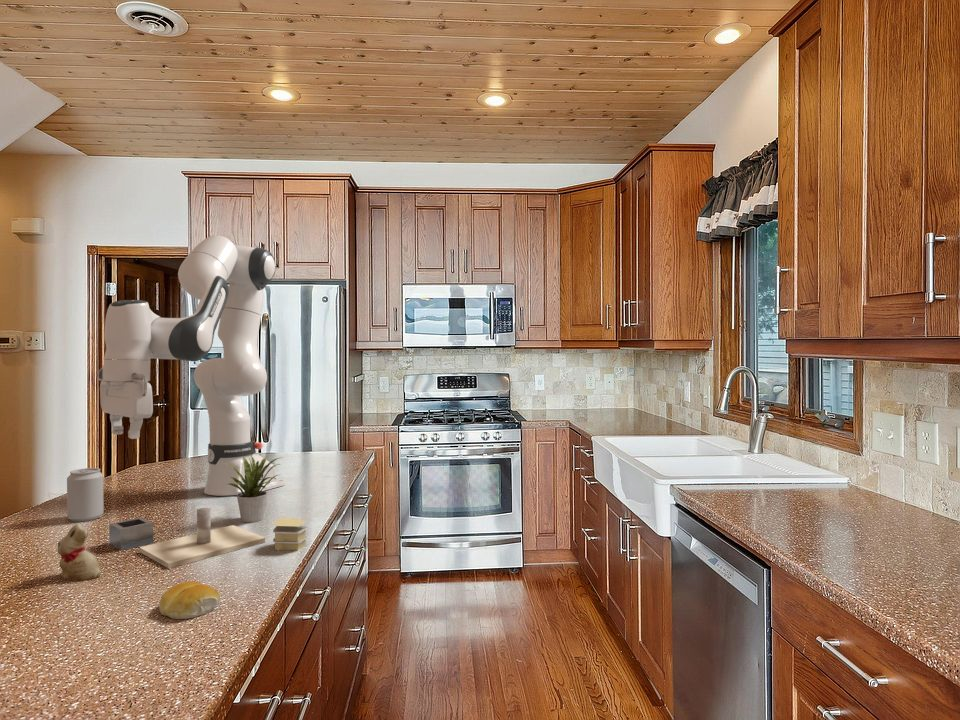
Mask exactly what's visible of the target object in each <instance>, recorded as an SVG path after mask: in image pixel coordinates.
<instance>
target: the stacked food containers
mask: <svg viewBox="0 0 960 720" xmlns="http://www.w3.org/2000/svg"><path fill="white" fill-rule="evenodd" d="M307 522H308V520H304V519H299V518H294V517H283V518H282V517H281V518H277V519H276V520H275V521H274V522H273V524H272V525H273V526H275V527H274V528H273V529H272V533H274V538H273V539H272V542H273V543H274V549H275V551H276V550H277V551H282V550H283V551H284V550H287V551H299V550H301V549H302V548H304V547H306V539H308V538H309V537H308V536H307V535H306V534H307V533H306V530H308V526H304V524H305V523H307Z"/></svg>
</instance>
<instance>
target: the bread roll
mask: <svg viewBox="0 0 960 720" xmlns="http://www.w3.org/2000/svg"><path fill="white" fill-rule="evenodd" d="M220 597H221V596H220V593H219V591H218V590H217V589H216V588H214V587H212V586H210V585H208V584H202V583H201V582H198V581H194V580H193V581H192V580H191V581H183V582H180V583H178V584H174V585H173V586H171V587H170V588H168V589H167V590H166V591H165V592H164V593H163V595H162V597H161V598H160V600H159V605H158V608H159V612H160V614H161V615H162V616H165V617H168V618H170V619H173V620H186V619H193V618H196V617H199V616H202V615H205V614H208V613H210V612H213V610H215V609H216V607H217V606H218V603H219V601H220V599H221V598H220Z"/></svg>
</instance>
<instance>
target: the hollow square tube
mask: <svg viewBox="0 0 960 720" xmlns="http://www.w3.org/2000/svg"><path fill="white" fill-rule="evenodd" d="M108 525H109V526H108V529H109V530H108V531H109V532H108V534H109V538H108V539H109V545H110V546H112V547H113V548H115V549H117V550H119V551H125V550H129V549H133V548H138V547H143V546H147V545H151V543H152V544H155V543H154V541H155V540H154V537H155V536H154V529H155V528H154V522H152V521H151V520H148V519H146V518H145V517H142V516H141V517H135V518H130V519H126V520H121V521H115V522H112V523H109V524H108Z"/></svg>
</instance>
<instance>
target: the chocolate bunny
mask: <svg viewBox="0 0 960 720" xmlns="http://www.w3.org/2000/svg"><path fill="white" fill-rule="evenodd" d="M88 535H89V532H88V530H87V529H85V528H83V526H82V524H80V523H76V524H74V525H72V527H71V528H70V529H69V531H68V532H67V535H65V537H62V538H61V539H60V540H59V541H58V543H57V553H58V555H60V557H61V558H60V560H59V567H60V569H61V571H62V572H61V573H60V577H61V578H63V579H64V580H67V581H78V582H79V581H89V580H94V579H99V578H101V577H102V576H101V575H102V572H101V565H100V562H99V561H98V558H97V557H96V556H95V554H93V553H91V552H89V551H87V550H86V549H85V542H86V540H87V538H88Z"/></svg>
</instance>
